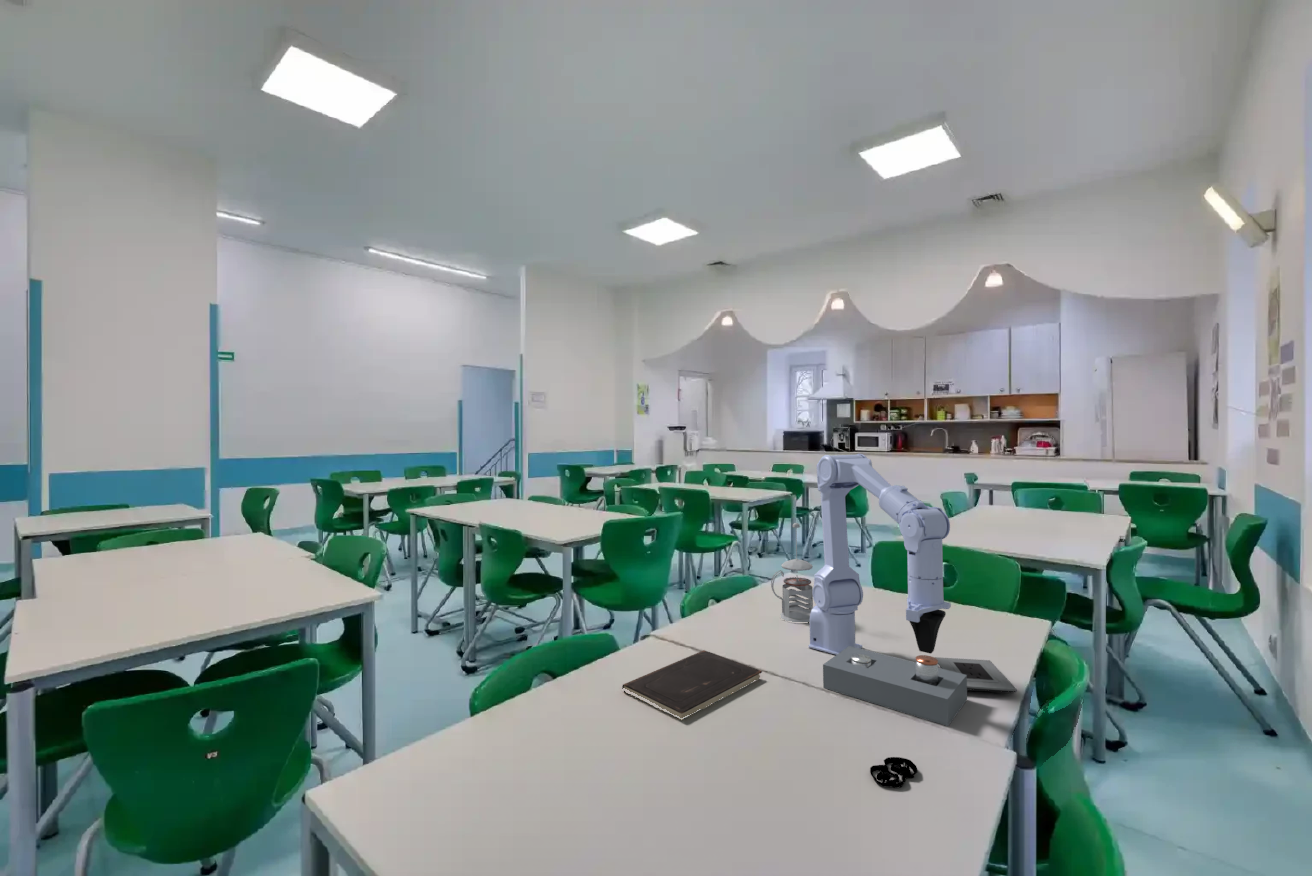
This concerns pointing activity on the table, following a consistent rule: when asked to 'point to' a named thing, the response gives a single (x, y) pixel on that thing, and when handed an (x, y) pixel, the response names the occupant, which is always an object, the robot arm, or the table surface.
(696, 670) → the hardcover book
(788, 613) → the french press
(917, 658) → the copper-capped canister
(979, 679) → the electrical outlet
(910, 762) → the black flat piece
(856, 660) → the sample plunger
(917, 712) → the console
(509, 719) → the table surface
